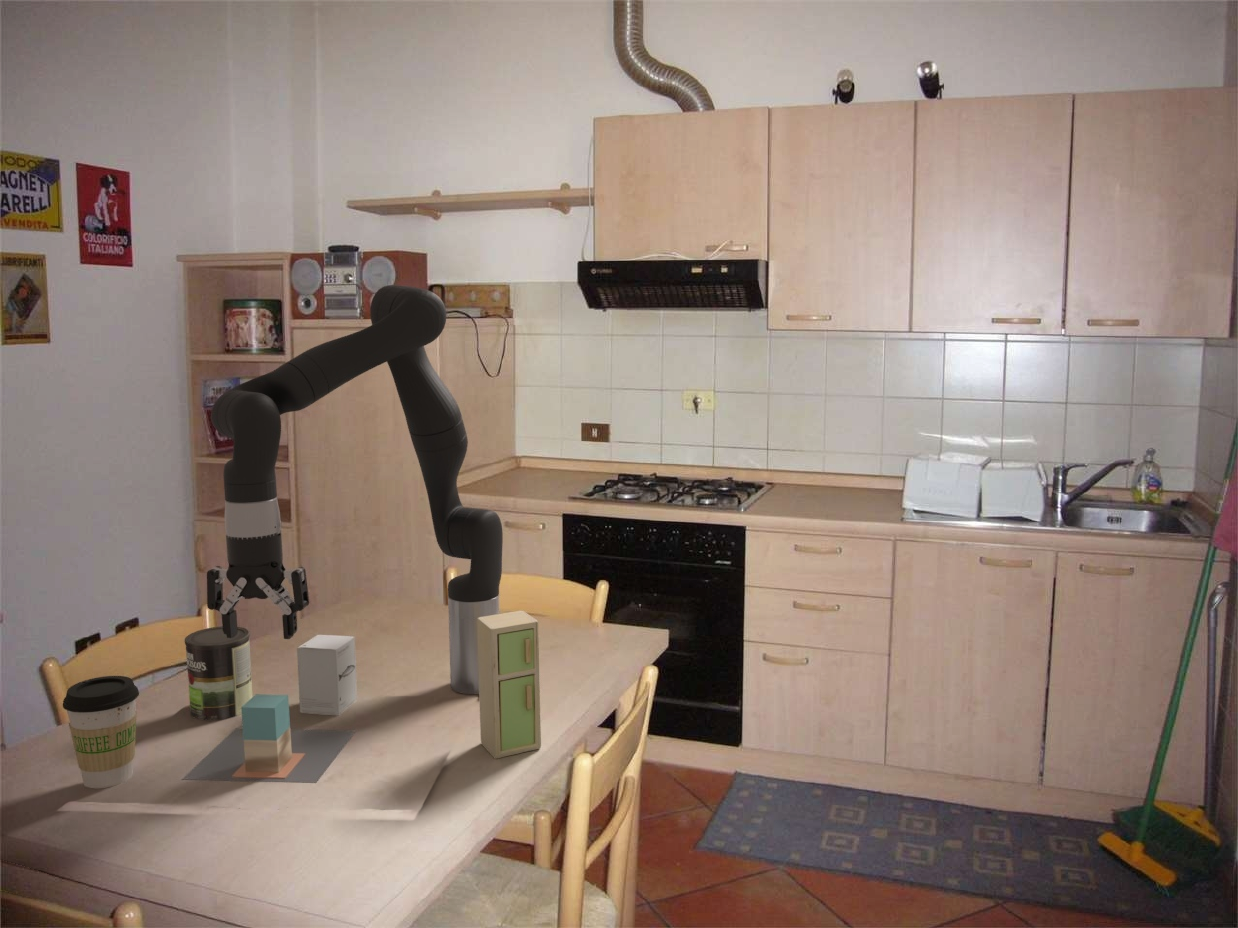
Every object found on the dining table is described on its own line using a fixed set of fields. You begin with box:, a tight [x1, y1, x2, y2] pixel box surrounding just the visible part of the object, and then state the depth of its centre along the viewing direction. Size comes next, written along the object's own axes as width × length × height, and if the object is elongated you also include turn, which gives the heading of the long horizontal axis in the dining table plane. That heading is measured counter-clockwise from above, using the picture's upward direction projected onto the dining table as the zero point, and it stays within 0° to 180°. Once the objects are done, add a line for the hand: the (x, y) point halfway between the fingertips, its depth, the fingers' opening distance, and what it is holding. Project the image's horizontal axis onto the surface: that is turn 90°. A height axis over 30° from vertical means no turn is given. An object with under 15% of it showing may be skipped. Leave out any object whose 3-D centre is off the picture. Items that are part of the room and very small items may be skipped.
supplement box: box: [296, 634, 358, 716], centre depth 170 cm, size 7×7×13 cm
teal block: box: [241, 693, 291, 741], centre depth 147 cm, size 5×5×5 cm
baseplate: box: [181, 727, 357, 784], centre depth 152 cm, size 20×18×1 cm
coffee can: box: [184, 626, 253, 721], centre depth 169 cm, size 10×10×14 cm
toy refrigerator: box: [477, 610, 542, 759], centre depth 155 cm, size 8×7×21 cm
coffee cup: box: [62, 675, 140, 789], centre depth 143 cm, size 10×10×15 cm
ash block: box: [244, 726, 292, 773], centre depth 148 cm, size 5×5×5 cm
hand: (260, 637), depth 145 cm, fingers open, 8 cm apart
